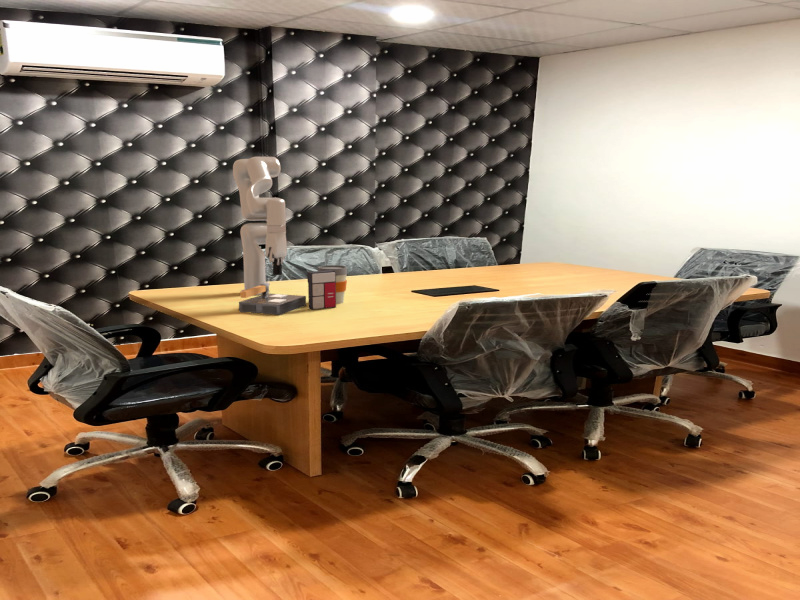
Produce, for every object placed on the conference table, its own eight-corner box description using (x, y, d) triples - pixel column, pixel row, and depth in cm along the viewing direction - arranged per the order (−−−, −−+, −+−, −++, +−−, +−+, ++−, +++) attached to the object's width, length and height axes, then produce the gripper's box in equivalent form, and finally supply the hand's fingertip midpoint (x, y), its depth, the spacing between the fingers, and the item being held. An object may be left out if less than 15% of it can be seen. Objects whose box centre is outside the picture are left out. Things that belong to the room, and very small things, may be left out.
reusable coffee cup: (318, 300, 317) (317, 265, 314) (347, 299, 318) (346, 265, 315) (317, 305, 304) (317, 269, 302) (348, 304, 305) (347, 268, 303)
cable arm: (262, 289, 306) (262, 283, 306) (270, 290, 305) (270, 283, 305) (239, 297, 288) (239, 290, 287) (247, 298, 287) (247, 290, 286)
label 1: (276, 294, 305) (276, 294, 305) (287, 295, 303) (287, 294, 303) (269, 297, 299) (269, 296, 299) (280, 297, 298) (280, 297, 298)
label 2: (275, 299, 294) (275, 298, 294) (286, 300, 292) (286, 299, 292) (267, 301, 288) (267, 301, 288) (278, 302, 287) (278, 302, 287)
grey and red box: (312, 310, 293) (311, 273, 290) (307, 308, 296) (307, 271, 294) (337, 307, 298) (336, 271, 296) (332, 306, 302) (331, 270, 299)
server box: (267, 302, 309) (266, 289, 308) (306, 305, 303) (305, 292, 302) (238, 312, 289) (237, 298, 288) (279, 315, 283) (278, 301, 282)
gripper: (277, 228, 305) (278, 271, 308) (258, 230, 291) (260, 276, 294) (293, 228, 302) (294, 272, 305) (275, 231, 288) (276, 277, 291)
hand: (277, 274), depth 300 cm, fingers closed
